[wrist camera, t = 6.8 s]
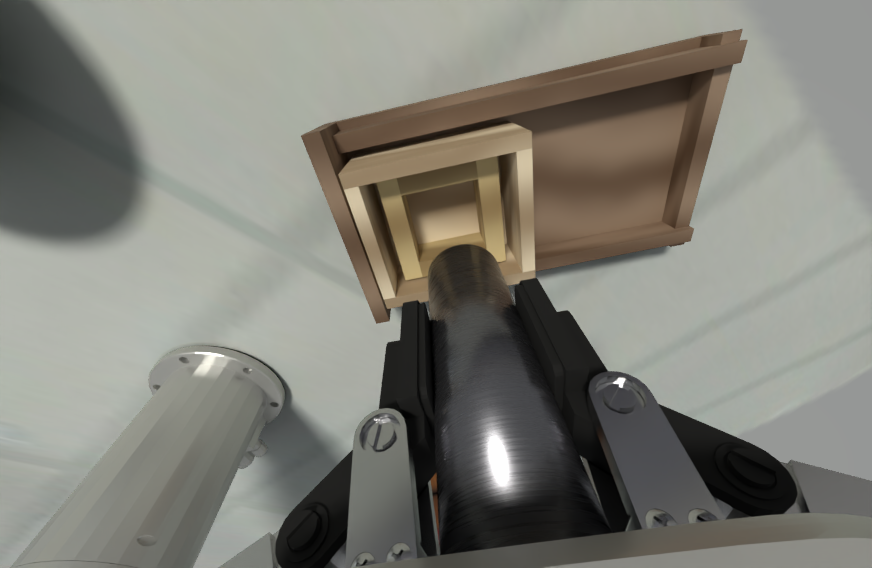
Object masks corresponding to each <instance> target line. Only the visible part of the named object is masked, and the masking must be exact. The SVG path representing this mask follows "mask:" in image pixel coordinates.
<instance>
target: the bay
mask: <svg viewBox="0 0 872 568" xmlns="http://www.w3.org/2000/svg"><path fill="white" fill-rule="evenodd" d="M741 33H742V29H740V30H734V31H727V32H721V33H714V34H708V35H703V36H699V37H695V38H690V39H686V40H682V41H678V42H673V43H669V44H665V45H660V46H656V47H652V48H648V49H643V50H639V51H635V52H631V53H626V54H622V55H618V56H614V57H609V58H605V59H601V60H597V61H592V62H588V63H584V64H580V65H575V66H571V67H567V68H562V69H558V70H554V71H550V72H545V73H541V74H537V75H533V76H528V77H524V78H520V79H516V80H511V81H507V82H503V83H499V84H494V85H490V86H486V87H481V88H477V89H473V90H469V91H464V92H460V93H456V94H452V95H447V96H443V97H439V98H435V99H430V100H426V101H422V102H418V103H413V104H409V105H405V106H401V107H396V108H392V109H388V110H383V111H379V112H375V113H371V114H366V115H362V116H358V117H354V118H349V119H345V120H341V121H337V122H332V123H328V124H324V125H322V126H320V127H318V128H316V129H314V130H312V131H310V132H308V133H306V134H304V135H302V136H301V137H302V140H303V142H304V145H305V147H306V150H307V152H308V155H309V157H310V160H311V162H312V165H313V167H314V170H315V172H316V175H317V177H318V180H319V182H320V185H321V187H322V190H323V192H324V194H325V197H326V199H327V202H328V204H329V207H330V209H331V212H332V214H333V217H334V219H335V222H336V224H337V227H338V229H339V232H340V234H341V237H342V239H343V242H344V244H345V247H346V249H347V252H348V254H349V257H350V259H351V262H352V264H353V267H354V269H355V272H356V274H357V277H358V279H359V281H360V284H361V286H362V289H363V291H364V294H365V296H366V299H367V301H368V304H369V306H370V309H371V311H372V314H373V316H374V319H375V321H376V324H377V323H382V322H387V321H390V311H391V308H390V309H387V307H386V304H385V302H384V299H383V296H382V293H381V291H380V288H379V285H378V282H377V280H376V277H375V274H374V271H373V269H372V266H371V263H370V260H369V258H368V255H367V252H366V249H365V247H364V244H363V241H362V238H361V236H360V233H359V230H358V227H357V225H356V222H355V219H354V217H353V214H352V211H351V208H350V206H349V203H348V200H347V197H346V195H345V192H344V189H343V186H342V184H341V181H340V178H339V175H338V174H339V173H340V172H341V171H342V169H343V168H344V167H345V166H346V164H347V163H348V162H349V161H350V160H351V158H352V157H353V156H354V155H356V154H361V153H365V152H370V151H374V150H379V149H383V148H387V147H392V146H396V145H401V144H405V143H409V142H414V141H418V140H423V139H427V138H431V137H436V136H440V135H445V134H449V133H453V132H458V131H462V130H467V129H471V128H476V127H480V126H484V125H489V124H493V123H498V122H502V121H506V120H507V121H510V122H512V123H514V124H516V125H519V126H521V127H523V128H526V129H528V130H530V131H532V160H533V201H534V242H535V271H540V270H545V269H550V268H555V267H560V266H565V265H571V264H576V263H581V262H586V261H591V260H596V259H601V258H606V257H612V256H617V255H622V254H627V253H632V252H637V251H642V250H647V249H653V248H658V247H663V246H668V245H669V246H670V247H672V246H677V245H682V244H684V242H688V241H691V238H692V234H693V231H694V229H693V228H692V227H690V226H689V224H690V220H691V217H692V213H693V209H694V206H695V202H696V198H697V195H698V191H699V187H700V184H701V180H702V176H703V173H704V169H705V165H706V162H707V158H708V154H709V151H710V147H711V143H712V140H713V136H714V132H715V128H716V125H717V121H718V117H719V114H720V110H721V106H722V103H723V99H724V95H725V92H726V88H727V84H728V81H729V77H730V73H731V70H732V66H733V64H736V63H741V61H742V58H743V54H744V51H745V47H746V44H747V40H741V41H739V40H740V37H741Z"/></svg>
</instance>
